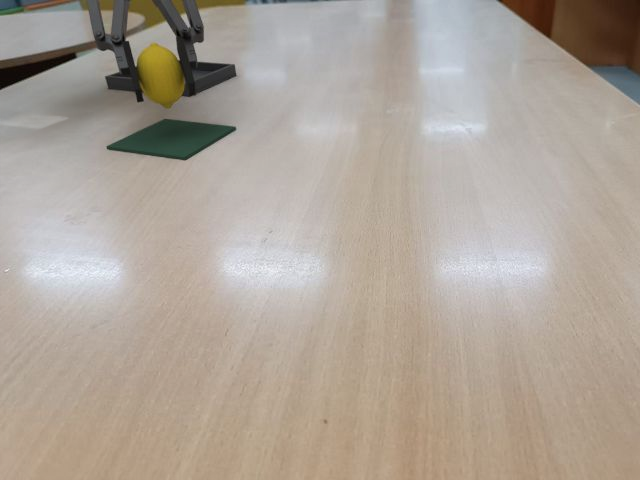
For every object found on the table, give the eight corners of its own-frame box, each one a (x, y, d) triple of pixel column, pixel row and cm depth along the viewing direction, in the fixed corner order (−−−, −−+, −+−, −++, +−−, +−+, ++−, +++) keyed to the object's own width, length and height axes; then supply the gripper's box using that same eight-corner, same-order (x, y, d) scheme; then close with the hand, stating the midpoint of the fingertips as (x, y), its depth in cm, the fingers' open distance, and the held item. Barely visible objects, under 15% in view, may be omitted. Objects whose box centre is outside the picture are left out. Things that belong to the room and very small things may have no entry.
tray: (108, 88, 91) (104, 76, 90) (162, 69, 103) (159, 58, 102) (189, 96, 86) (187, 83, 85) (236, 75, 98) (234, 64, 97)
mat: (106, 149, 66) (106, 146, 66) (165, 121, 75) (164, 118, 75) (185, 160, 63) (184, 156, 62) (236, 129, 72) (235, 126, 72)
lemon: (156, 117, 64) (140, 49, 59) (139, 108, 67) (122, 42, 63) (197, 108, 67) (184, 42, 62) (178, 100, 70) (165, 36, 66)
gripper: (197, -48, 72) (239, 99, 69) (51, -43, 66) (90, 118, 63) (196, -95, 65) (243, 66, 62) (33, -95, 59) (75, 84, 56)
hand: (166, 92), depth 62 cm, fingers closed on lemon, 5 cm apart
